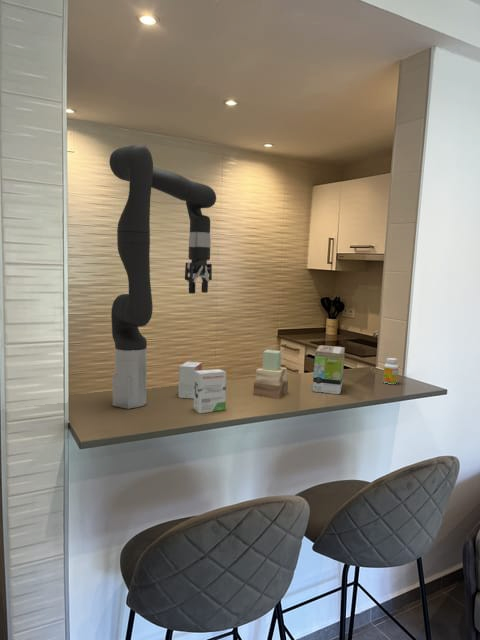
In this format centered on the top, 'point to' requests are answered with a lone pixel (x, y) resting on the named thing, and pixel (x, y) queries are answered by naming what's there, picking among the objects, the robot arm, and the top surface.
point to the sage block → (271, 360)
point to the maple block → (271, 376)
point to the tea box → (328, 369)
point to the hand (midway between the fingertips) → (198, 293)
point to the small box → (187, 378)
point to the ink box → (209, 390)
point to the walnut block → (270, 390)
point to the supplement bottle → (391, 371)
